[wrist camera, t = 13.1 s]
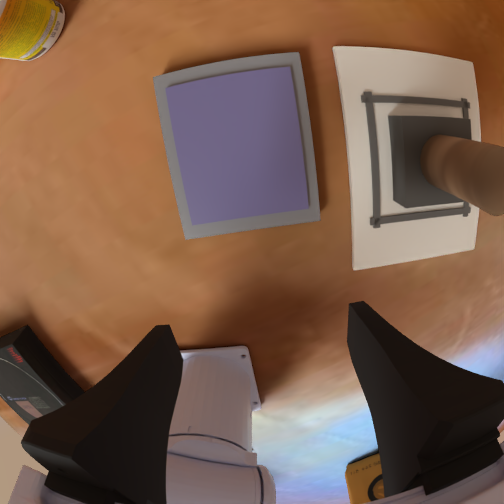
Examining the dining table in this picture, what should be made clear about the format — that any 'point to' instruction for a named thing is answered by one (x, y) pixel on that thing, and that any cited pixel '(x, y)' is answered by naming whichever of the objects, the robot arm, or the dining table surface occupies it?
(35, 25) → the supplement bottle
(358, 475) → the coffee package
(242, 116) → the ink pad
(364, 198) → the marked board
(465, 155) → the stamp
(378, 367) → the robot arm
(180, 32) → the dining table surface
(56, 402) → the portable cd player
